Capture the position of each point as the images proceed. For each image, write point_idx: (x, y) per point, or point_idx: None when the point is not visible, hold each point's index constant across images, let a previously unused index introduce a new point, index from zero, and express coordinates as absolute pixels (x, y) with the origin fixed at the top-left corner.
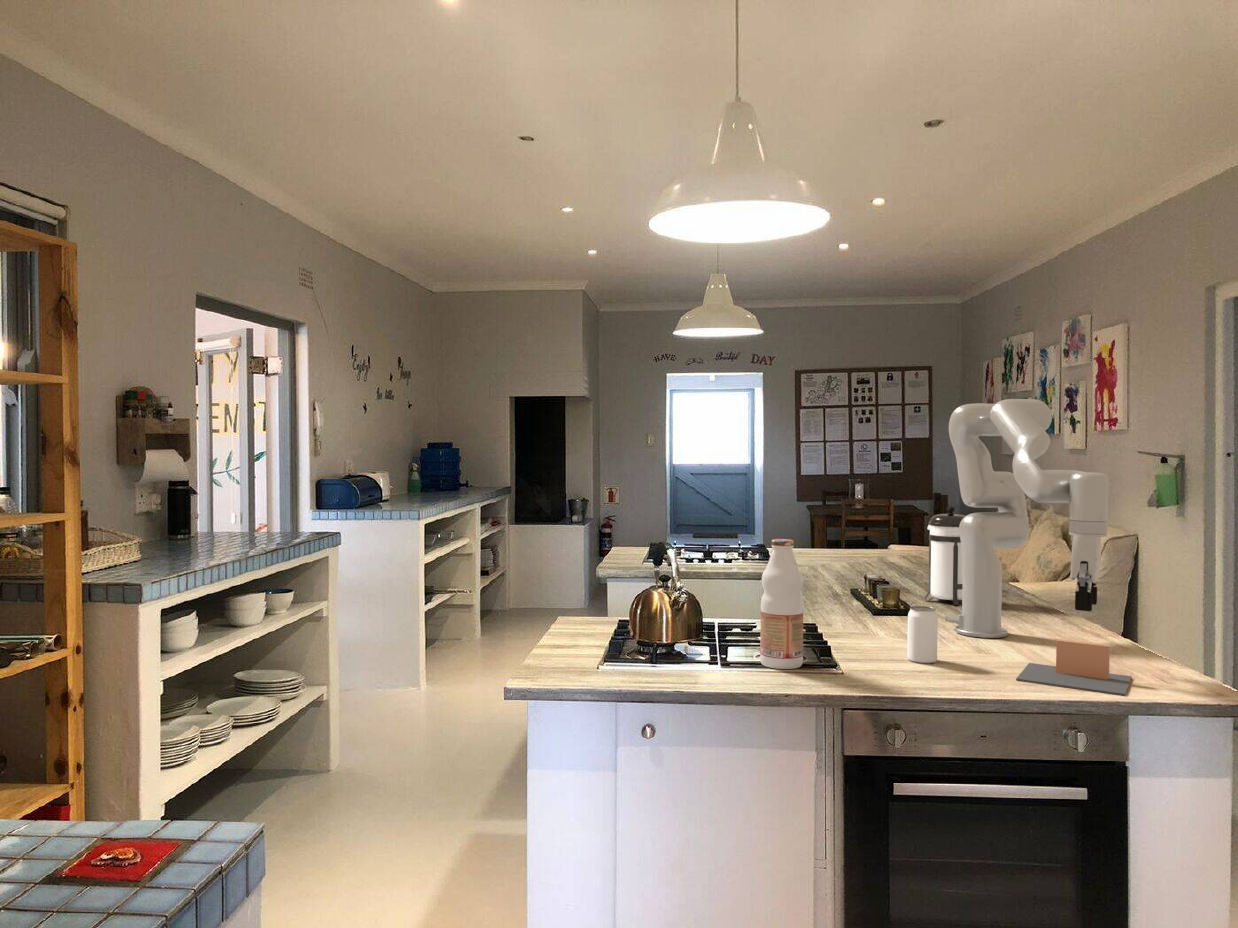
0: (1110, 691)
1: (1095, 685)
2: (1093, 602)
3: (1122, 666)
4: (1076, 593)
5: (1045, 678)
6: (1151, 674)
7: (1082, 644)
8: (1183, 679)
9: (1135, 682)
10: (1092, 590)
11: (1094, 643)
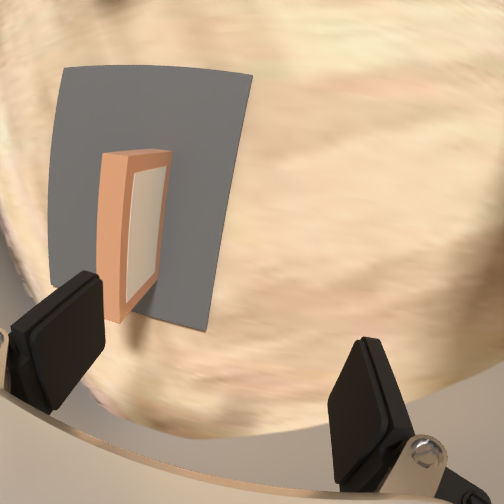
0: (51, 260)
1: (76, 237)
2: (330, 399)
3: (333, 329)
4: (20, 325)
5: (85, 126)
6: (268, 372)
7: (98, 240)
8: (247, 411)
9: (168, 327)
10: (342, 455)
11: (118, 281)
